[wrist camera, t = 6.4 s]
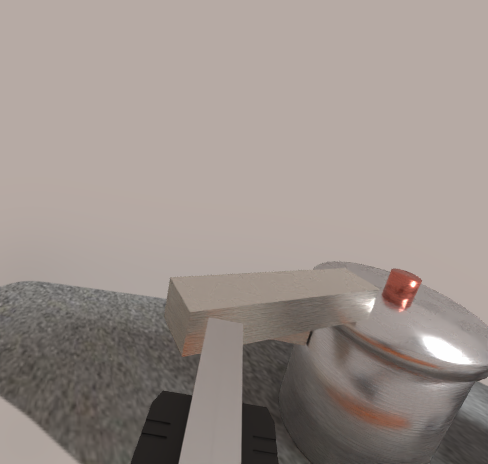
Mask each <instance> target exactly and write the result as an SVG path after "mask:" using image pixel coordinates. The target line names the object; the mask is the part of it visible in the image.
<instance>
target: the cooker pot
mask: <svg viewBox="0 0 488 464" xmlns="http://www.w3.org/2000/svg"><path fill="white" fill-rule="evenodd" d="M272 340H278V341H283V342H288V343H293V344H294V347H293V350H292V353H291V356H290V359H289V363H288V366H287V369H286V372H285V375H284V378H283V381H282V384H281V388H280V391H279V407H280V412H281V416H282V419H283V422H284V424H285V426H286V428H287V431H288V433H289V434H290V436H291V438H292V439H293V441H294V442H295V444H296V445H297V446H298V448H299V449H300V451H301V452H302V453H303V454H304V455H305V456H306V457H307V458H308V460H309V461H310V462H312V463H313V464H429V462H430V460H431V458H432V456H433V455H434V453H435V451H436V449H437V448H438V446H439V444H440V442H441V441H442V439H443V437H444V435H445V434H446V432H447V430H448V428H449V427H450V425H451V423H452V421H453V420H454V418H455V416H456V414H457V413H458V411H459V409H460V407H461V406H462V404H463V402H464V400H465V399H466V397H467V395H468V393H469V392H470V390H471V388H472V386H473V385H474V383H475V381H474V382H455V381H448V380H442V379H438V378H434V377H429V376H426V375H423V374H420V373H416V372H413V371H411V370H408V369H405V368H403V367H400V366H398V365H395V364H393V363H391V362H389V361H387V360H384V359H382V358H380V357H378V356H377V355H375V354H373V353H371V352H369V351H367V350H365V349H364V348H362V347H360V346H359V345H357V344H355V343H354V342H352V341H351V340H349V339H348V338H347V337H345V336H344V335H342V334H341V333H340V332H338V331H337V330H336V329H335V328H333V327H327V328H323V329H318V330H313V331H308V332H303V333H298V334H293V335H288V336H283V337H278V338H273V339H272Z"/></svg>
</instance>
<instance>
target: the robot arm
mask: <svg viewBox="0 0 488 464" xmlns="http://www.w3.org/2000/svg"><path fill="white" fill-rule="evenodd" d="M242 363H243V324H242V323H237V322H231V321H226V320H221V319H215V318H210V317H209V319H208V324H207V328H206V333H205V338H204V343H203V348H202V352H201V357H200V362H199V367H198V371H197V376H196V381H195V386H194V391H193V396H192V395H186V394H180V393H174V392H168V391H162V392H161V393H160V394H159V396H158V397H157V398H156V399H155V400H154V401H153V402H152V404H151V407H150V410H149V413H148V416H147V418H146V422H145V424H144V427H143V430H142V433H141V436H140V438H139V441H138V444H137V447H136V449H135V452H134V455H133V458H132V461H131V464H278V457H277V445H276V435H275V425H274V421H273V419H272V417H271V415H270V413H269V411H268V409H267V407H261V406H255V405H249V404H244V403H242Z"/></svg>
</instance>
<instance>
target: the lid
mask: <svg viewBox="0 0 488 464" xmlns="http://www.w3.org/2000/svg"><path fill="white" fill-rule="evenodd" d="M421 282H422V280H421V279H420V278H419V277H418V276H416V275H414V274H412V273H409V272H407V271H404V270H400V269H392V270H391V272H388V271H385V270H382V269H379V268H375V267H371V266H366V265H362V264H357V263H350V262H326V263H322V264H319V265H317V266H316V267H315V268H314V269H313V270H299V271H282V272H263V273H244V274H227V275H207V276H189V277H171V278H170V282H169V289H168V296H167V301H166V308H165V314H164V318H165V320H166V323H167V325H168V327H169V329H170V332H171V334H172V336H173V338H174V341H175V343H176V345H177V347H178V350H179V352H180V354H181V356H182V357H185V356H190V355H195V354H200V353H201V352H202V348H203V343H204V338H205V333H206V328H207V324H208V319H209V317H210V318H215V319H221V320H226V321H231V322H237V323H242V324H243V345H244V344H249V343H254V342H259V341H263V340H268V339H273V338H278V337H283V336H288V335H293V334H298V333H303V332H308V331H313V330H318V329H323V328H327V327H333V328H335V329H336V330H337V331H338V332H340V333H341V334H342V335H344V336H345V337H347V338H348V339H349V340H351V341H352V342H354V343H355V344H357V345H359V346H360V347H362V348H364V349H365V350H367V351H369V352H371V353H373V354H375V355H377V356H378V357H380V358H382V359H384V360H387V361H389V362H391V363H393V364H395V365H398V366H400V367H403V368H405V369H408V370H411V371H413V372H416V373H420V374H423V375H426V376H429V377H434V378H438V379H442V380H448V381H455V382H474V381H480V380H482V379H485V378H487V377H488V326H487V325H486V324H485V323H484V322H483V321H482V320H480V319H479V318H478V317H477V316H475V315H474V314H472V313H471V312H470V311H469V310H467V309H466V308H464V307H463V306H461V305H460V304H458V303H456V302H455V301H453V300H451V299H450V298H448V297H446V296H444V295H442V294H440V293H439V292H437V291H435V290H433V289H430V288H428V287H426V286H424V285H422V284H421Z"/></svg>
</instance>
